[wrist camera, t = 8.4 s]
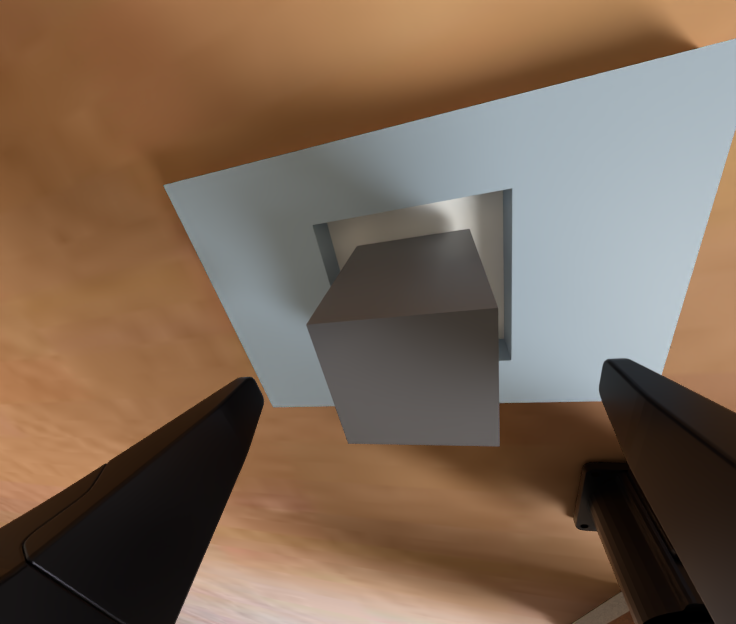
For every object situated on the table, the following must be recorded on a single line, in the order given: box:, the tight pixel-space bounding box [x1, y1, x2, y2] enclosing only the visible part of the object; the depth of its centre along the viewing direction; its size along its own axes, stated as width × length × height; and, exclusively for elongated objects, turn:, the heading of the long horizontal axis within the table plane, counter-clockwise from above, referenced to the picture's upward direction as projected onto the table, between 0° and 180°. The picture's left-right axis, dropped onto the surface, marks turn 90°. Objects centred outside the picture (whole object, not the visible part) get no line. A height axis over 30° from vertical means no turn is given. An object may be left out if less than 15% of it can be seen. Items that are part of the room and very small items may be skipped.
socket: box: [163, 39, 736, 407], centre depth 13 cm, size 12×18×2 cm, turn 102°
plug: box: [306, 229, 500, 446], centre depth 11 cm, size 4×4×7 cm
